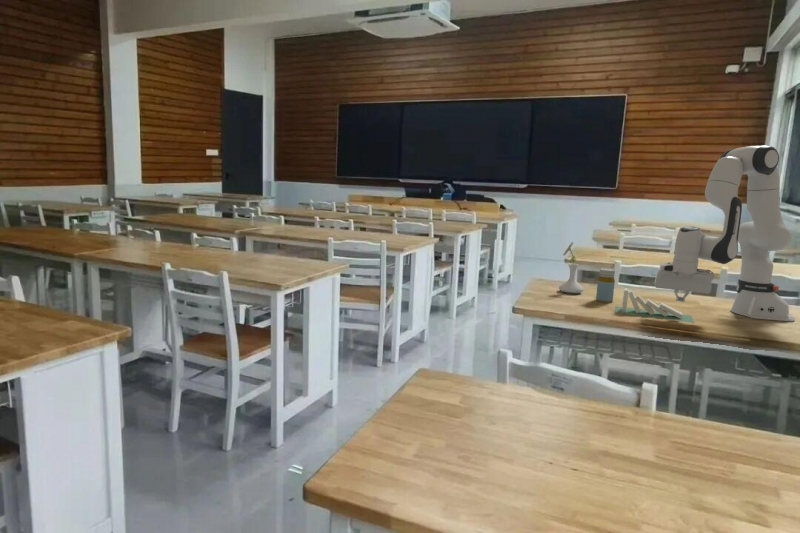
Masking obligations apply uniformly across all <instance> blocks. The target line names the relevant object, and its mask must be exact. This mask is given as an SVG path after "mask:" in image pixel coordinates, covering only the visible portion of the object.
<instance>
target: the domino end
mask: <svg viewBox="0 0 800 533" xmlns="http://www.w3.org/2000/svg"><path fill="white" fill-rule="evenodd" d="M629 290H630V289H629V288H625V287H624V290H623V298H622V300H623V301H622V305H621V307H622V312H626V309H627V308H628V299H629V294H628V291H629Z"/></svg>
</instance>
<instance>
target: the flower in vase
mask: <svg viewBox="0 0 800 533" xmlns="http://www.w3.org/2000/svg"><path fill="white" fill-rule="evenodd" d="M573 244H574V241H571V242H570V244H569V246H568V247H567V248H566V249H565V251H564V253H563V254H562V255H563V256H566V254H567V253H568V252H570V254H571V256H572V257H571V258H570V261H569V263H568V264H567V265H568V267H569V278H568V280H566V281H564V282H563V283H562V284H561V285H559V286H558V289H559V291H562V292H563V293H567V294H579V293H583V292H584V288H583V286H581V284H580V283H579V282H577V280H576V277H575V276H576V271H577V268H578V267H579V264H578V263H575V262H577V259H576V257H575V256H576V255H574V254H573V251H572V249H571V248H572V246H573Z"/></svg>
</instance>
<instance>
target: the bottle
mask: <svg viewBox="0 0 800 533" xmlns="http://www.w3.org/2000/svg"><path fill="white" fill-rule="evenodd" d="M615 274H616V271H615V269H613V268H607V267H606V268H605V267H602V268H600V269H599V276H598V278H597V285H596V296H595V301H596V302H599V303H605V304H610V303H611V304H612V303H614V302H613V299H614V291H615V282H616V279H615Z"/></svg>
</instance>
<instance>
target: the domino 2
mask: <svg viewBox="0 0 800 533" xmlns="http://www.w3.org/2000/svg"><path fill="white" fill-rule="evenodd" d="M635 299H636V300H637V303H638V304H640V306H641V307H642V308H643V310H646V311H647V312H648V313H649V314H650V315H652V314H653V313H654V311H655V310H654V309H653V308H651V307H650V306H648V305H647V304H645V301H646V300H644V298H643V297H642V296H641V295H640V294H639V293H637V294H636V295H635Z"/></svg>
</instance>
